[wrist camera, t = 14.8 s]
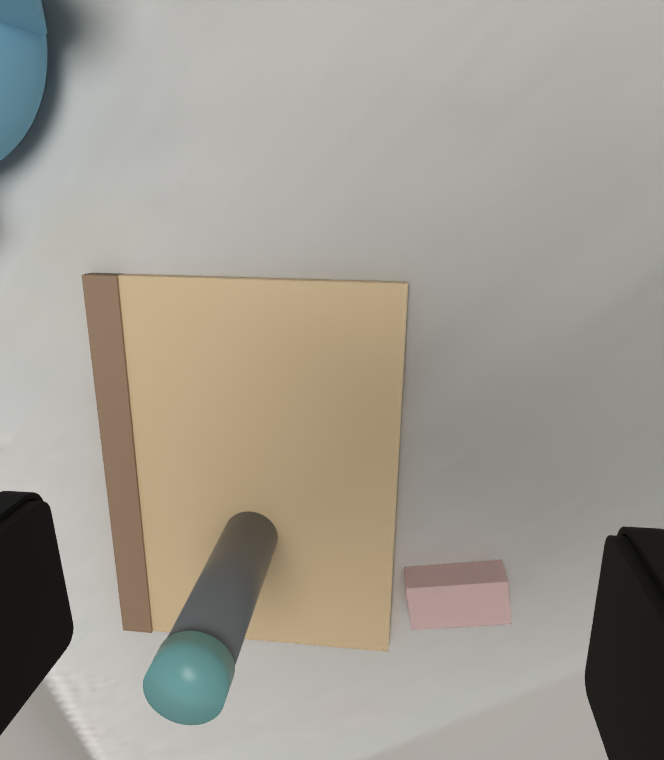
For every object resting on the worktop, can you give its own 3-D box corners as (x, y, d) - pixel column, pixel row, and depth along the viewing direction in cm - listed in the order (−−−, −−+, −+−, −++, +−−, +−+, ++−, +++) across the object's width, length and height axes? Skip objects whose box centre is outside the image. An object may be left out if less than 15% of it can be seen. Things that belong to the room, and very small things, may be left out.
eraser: (500, 557, 35) (508, 581, 33) (504, 597, 36) (511, 624, 34) (404, 564, 36) (405, 588, 34) (410, 603, 37) (411, 629, 35)
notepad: (407, 281, 31) (408, 284, 30) (388, 642, 38) (388, 653, 37) (90, 273, 32) (81, 274, 31) (129, 620, 40) (123, 630, 39)
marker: (278, 511, 35) (223, 662, 23) (279, 561, 36) (226, 728, 25) (221, 508, 35) (139, 654, 24) (224, 557, 36) (146, 720, 25)
